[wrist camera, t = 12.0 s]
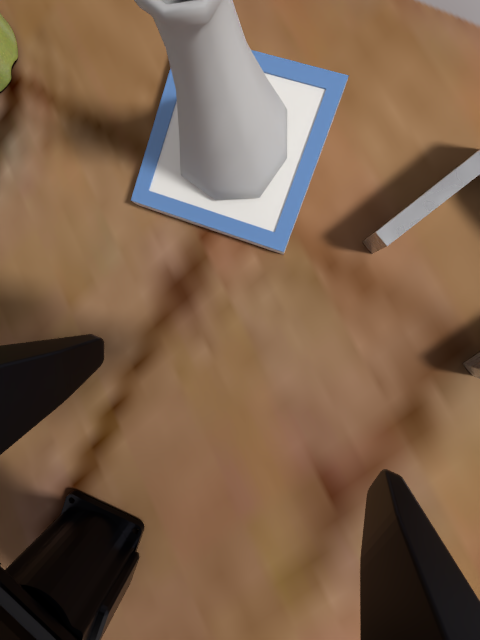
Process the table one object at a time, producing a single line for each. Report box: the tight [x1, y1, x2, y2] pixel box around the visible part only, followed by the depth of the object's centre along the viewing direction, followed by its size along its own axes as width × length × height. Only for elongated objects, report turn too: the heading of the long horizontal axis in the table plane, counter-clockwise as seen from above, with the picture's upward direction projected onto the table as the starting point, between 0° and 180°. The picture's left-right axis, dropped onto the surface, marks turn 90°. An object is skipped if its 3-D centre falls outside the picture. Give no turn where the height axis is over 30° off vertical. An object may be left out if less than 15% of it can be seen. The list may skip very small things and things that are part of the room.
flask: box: [134, 0, 287, 200], centre depth 13 cm, size 7×7×10 cm
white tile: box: [131, 50, 348, 255], centre depth 18 cm, size 11×11×1 cm
